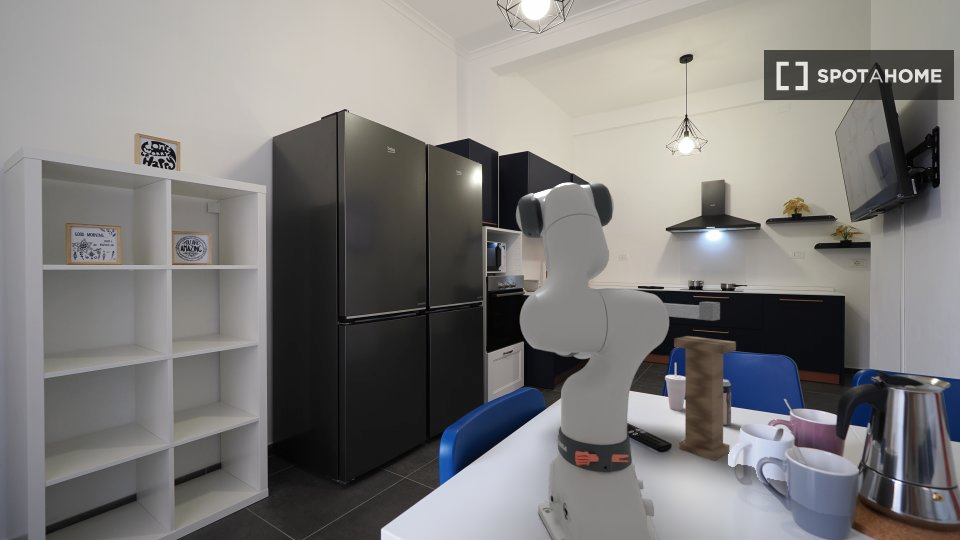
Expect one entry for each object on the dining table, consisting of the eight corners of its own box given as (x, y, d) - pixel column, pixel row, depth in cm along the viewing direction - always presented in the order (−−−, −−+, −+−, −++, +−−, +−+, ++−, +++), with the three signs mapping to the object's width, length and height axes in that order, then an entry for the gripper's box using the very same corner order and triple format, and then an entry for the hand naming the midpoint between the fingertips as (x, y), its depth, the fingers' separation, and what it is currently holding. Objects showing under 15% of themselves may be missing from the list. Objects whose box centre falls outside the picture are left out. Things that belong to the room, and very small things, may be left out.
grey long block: (639, 313, 108) (639, 298, 108) (647, 313, 111) (647, 298, 111) (712, 320, 94) (712, 303, 94) (719, 319, 97) (719, 302, 97)
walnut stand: (672, 446, 99) (673, 338, 99) (688, 438, 104) (688, 335, 104) (722, 463, 90) (722, 345, 90) (736, 453, 95) (736, 341, 95)
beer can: (733, 426, 112) (733, 382, 112) (714, 425, 113) (714, 381, 113) (727, 420, 117) (727, 378, 117) (708, 419, 118) (708, 377, 118)
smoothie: (682, 405, 130) (683, 361, 130) (691, 412, 123) (691, 365, 123) (661, 404, 130) (662, 360, 130) (669, 411, 124) (669, 365, 124)
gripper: (587, 320, 111) (627, 297, 102) (629, 316, 124) (668, 295, 114) (597, 342, 108) (639, 320, 99) (639, 335, 121) (679, 315, 112)
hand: (655, 307), depth 107 cm, fingers closed on grey long block, 3 cm apart
